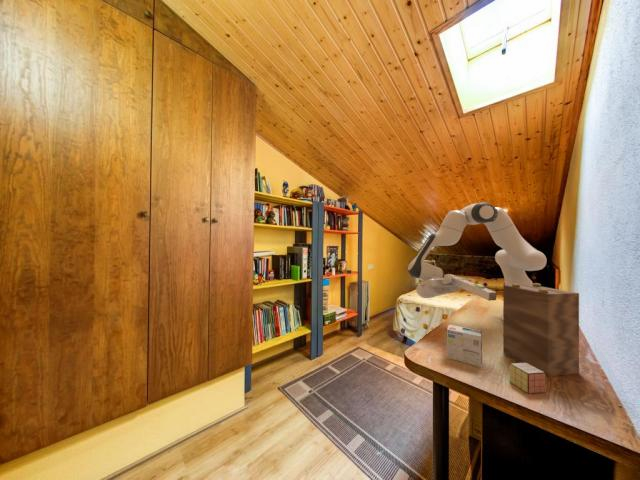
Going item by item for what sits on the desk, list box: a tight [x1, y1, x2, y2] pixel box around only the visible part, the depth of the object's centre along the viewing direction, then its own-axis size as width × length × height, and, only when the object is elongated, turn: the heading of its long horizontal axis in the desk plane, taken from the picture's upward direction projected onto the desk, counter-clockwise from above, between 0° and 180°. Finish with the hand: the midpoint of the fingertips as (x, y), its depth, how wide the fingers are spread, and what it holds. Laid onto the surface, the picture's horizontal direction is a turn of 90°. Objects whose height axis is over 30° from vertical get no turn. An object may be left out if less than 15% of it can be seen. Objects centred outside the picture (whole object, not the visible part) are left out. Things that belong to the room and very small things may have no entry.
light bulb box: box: [446, 324, 483, 368], centre depth 83 cm, size 11×7×11 cm, turn 54°
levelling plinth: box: [502, 282, 580, 377], centre depth 81 cm, size 12×15×27 cm
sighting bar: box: [444, 273, 497, 302], centre depth 95 cm, size 3×24×4 cm, turn 7°
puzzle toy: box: [509, 362, 546, 394], centre depth 67 cm, size 6×6×6 cm
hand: (456, 279), depth 102 cm, fingers closed on sighting bar, 3 cm apart
